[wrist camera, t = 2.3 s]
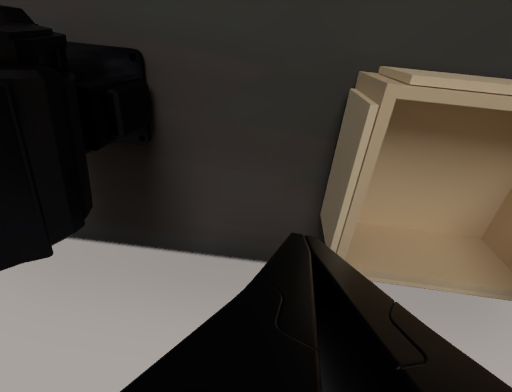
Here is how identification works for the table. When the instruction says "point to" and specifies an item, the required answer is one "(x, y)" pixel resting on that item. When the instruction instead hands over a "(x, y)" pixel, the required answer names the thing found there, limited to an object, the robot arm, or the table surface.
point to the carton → (425, 182)
